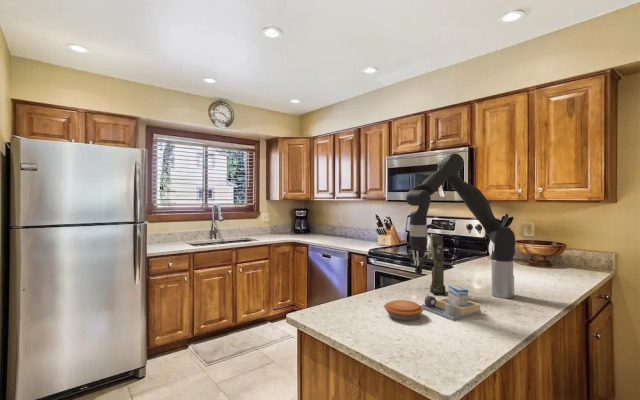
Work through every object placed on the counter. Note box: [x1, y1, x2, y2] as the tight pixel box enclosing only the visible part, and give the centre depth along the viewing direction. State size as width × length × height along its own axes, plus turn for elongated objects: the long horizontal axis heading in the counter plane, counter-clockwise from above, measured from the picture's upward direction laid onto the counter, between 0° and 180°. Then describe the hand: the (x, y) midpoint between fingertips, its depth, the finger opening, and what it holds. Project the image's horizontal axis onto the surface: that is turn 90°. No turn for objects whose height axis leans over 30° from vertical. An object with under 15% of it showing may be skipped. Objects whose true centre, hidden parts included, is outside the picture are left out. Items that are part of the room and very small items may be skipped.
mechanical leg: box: [429, 234, 446, 297], centre depth 166 cm, size 14×7×30 cm, turn 168°
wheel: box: [423, 295, 437, 307], centre depth 140 cm, size 4×3×4 cm, turn 118°
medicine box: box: [447, 284, 469, 308], centre depth 138 cm, size 8×4×9 cm, turn 10°
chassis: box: [420, 296, 482, 322], centre depth 138 cm, size 17×17×5 cm
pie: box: [383, 299, 424, 322], centre depth 133 cm, size 15×16×5 cm
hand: (418, 273), depth 146 cm, fingers closed
